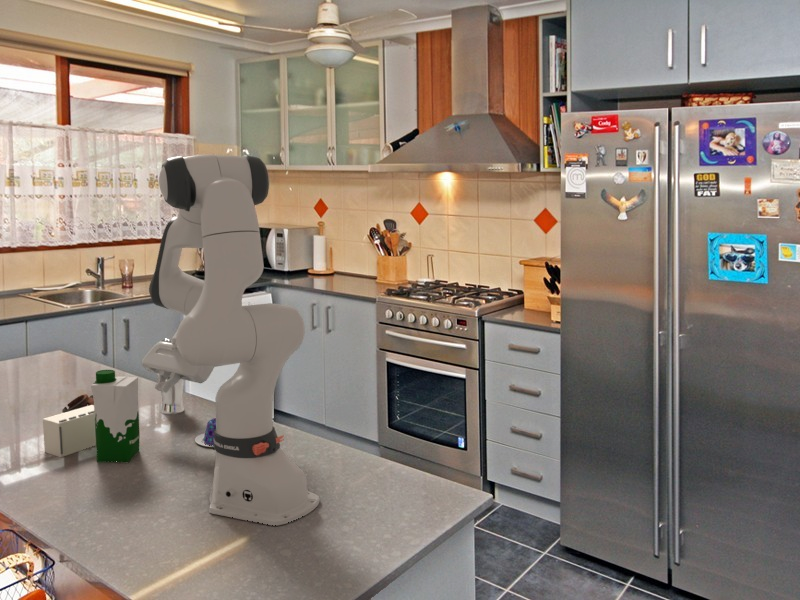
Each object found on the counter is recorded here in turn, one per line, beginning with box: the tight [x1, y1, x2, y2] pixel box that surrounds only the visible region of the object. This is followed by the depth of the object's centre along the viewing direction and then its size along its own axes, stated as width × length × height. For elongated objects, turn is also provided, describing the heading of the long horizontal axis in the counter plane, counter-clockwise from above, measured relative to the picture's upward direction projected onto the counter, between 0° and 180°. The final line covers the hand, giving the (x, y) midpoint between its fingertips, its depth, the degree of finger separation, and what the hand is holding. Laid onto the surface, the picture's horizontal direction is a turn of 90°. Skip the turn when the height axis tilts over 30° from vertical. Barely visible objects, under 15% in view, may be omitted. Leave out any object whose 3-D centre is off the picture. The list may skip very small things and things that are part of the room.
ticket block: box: [42, 405, 96, 458], centre depth 175 cm, size 6×13×8 cm, turn 149°
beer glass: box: [157, 374, 185, 415], centre depth 202 cm, size 7×7×15 cm
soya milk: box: [90, 369, 141, 463], centre depth 168 cm, size 9×9×20 cm
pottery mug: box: [61, 393, 94, 413], centre depth 194 cm, size 12×10×8 cm
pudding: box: [194, 417, 216, 448], centre depth 182 cm, size 12×12×5 cm
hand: (160, 390), depth 178 cm, fingers closed
